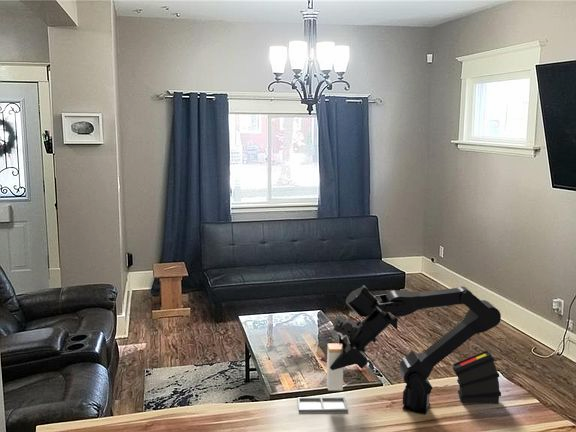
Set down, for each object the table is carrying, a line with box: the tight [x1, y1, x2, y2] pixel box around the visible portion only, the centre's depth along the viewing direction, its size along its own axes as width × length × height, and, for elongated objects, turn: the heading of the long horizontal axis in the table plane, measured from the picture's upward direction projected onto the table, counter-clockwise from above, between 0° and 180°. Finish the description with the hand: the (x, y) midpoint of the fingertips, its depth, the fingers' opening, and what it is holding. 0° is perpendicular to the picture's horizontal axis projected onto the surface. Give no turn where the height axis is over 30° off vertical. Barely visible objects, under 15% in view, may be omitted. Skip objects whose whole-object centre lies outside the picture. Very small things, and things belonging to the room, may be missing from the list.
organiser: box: [296, 396, 349, 414], centre depth 162 cm, size 14×7×2 cm, turn 92°
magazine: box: [452, 350, 502, 405], centre depth 167 cm, size 4×13×15 cm, turn 88°
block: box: [326, 342, 344, 391], centre depth 160 cm, size 4×4×12 cm
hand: (330, 365), depth 160 cm, fingers closed on block, 4 cm apart
